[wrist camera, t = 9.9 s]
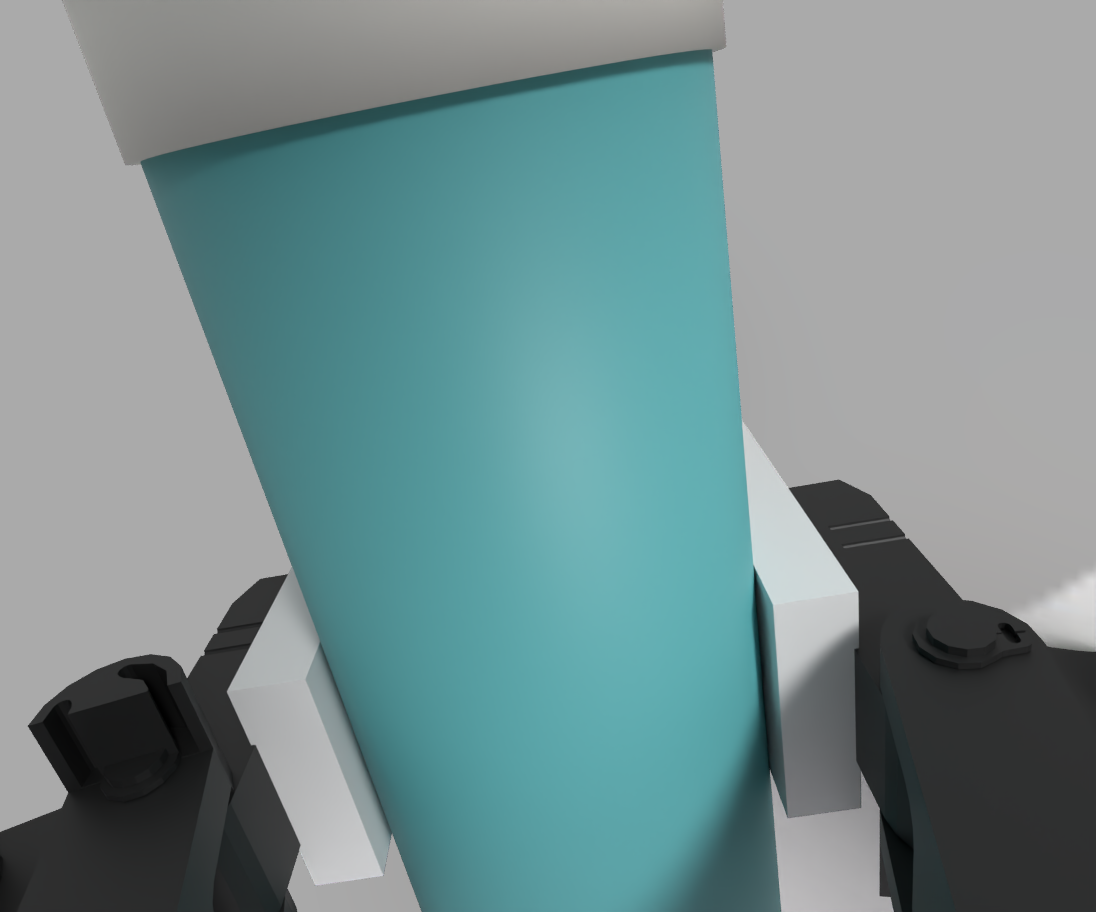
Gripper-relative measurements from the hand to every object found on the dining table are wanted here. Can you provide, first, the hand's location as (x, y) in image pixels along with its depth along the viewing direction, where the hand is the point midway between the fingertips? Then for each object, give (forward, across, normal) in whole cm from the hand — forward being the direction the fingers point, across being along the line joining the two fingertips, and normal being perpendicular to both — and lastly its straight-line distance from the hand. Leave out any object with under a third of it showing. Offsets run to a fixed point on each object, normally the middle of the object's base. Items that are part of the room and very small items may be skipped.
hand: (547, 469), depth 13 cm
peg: (-5, 0, -11) cm, 12 cm away
